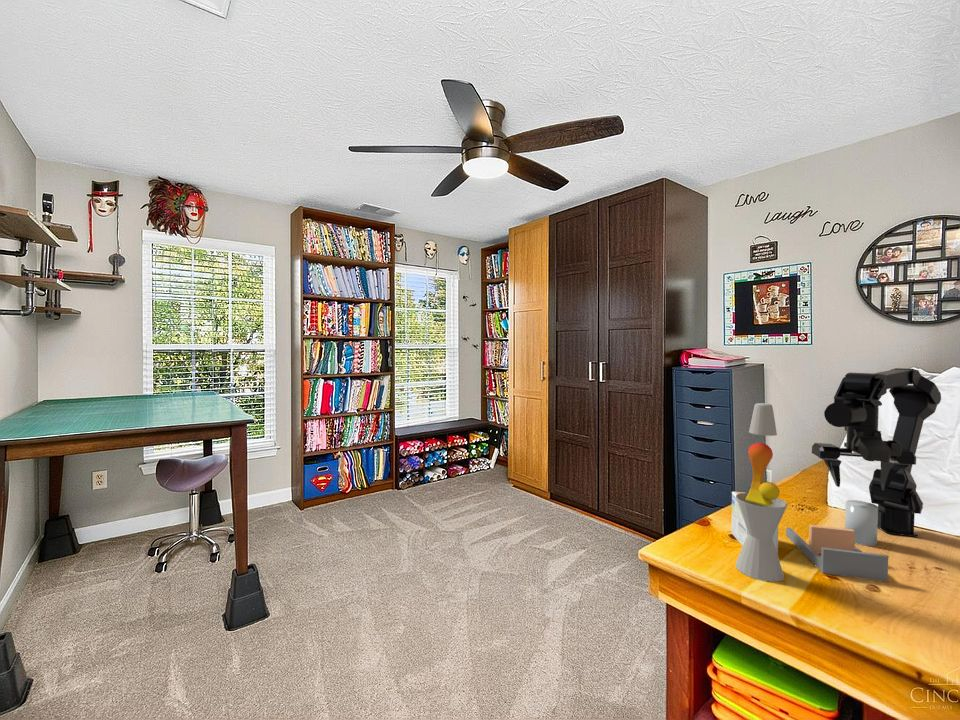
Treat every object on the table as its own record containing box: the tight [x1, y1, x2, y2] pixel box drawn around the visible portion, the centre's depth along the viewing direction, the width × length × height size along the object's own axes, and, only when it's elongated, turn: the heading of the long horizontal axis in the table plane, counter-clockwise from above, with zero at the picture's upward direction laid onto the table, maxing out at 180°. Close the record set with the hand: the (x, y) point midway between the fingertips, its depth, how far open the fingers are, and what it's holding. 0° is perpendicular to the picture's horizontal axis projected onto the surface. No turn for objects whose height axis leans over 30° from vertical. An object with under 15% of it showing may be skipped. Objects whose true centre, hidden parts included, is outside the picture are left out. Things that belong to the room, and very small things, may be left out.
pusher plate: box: [808, 524, 856, 555], centre depth 100 cm, size 8×1×6 cm, turn 74°
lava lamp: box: [734, 402, 788, 583], centre depth 92 cm, size 9×9×35 cm
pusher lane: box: [785, 526, 889, 582], centre depth 100 cm, size 11×20×5 cm, turn 164°
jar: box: [844, 499, 878, 547], centre depth 108 cm, size 6×6×9 cm
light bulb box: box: [730, 491, 779, 555], centre depth 106 cm, size 11×7×11 cm, turn 168°
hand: (860, 488), depth 108 cm, fingers open, 9 cm apart
